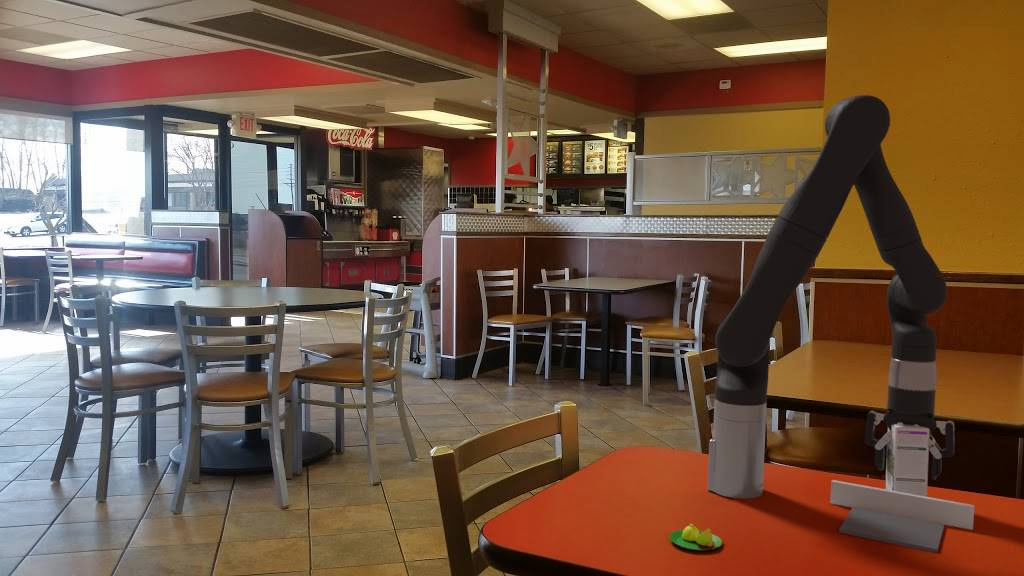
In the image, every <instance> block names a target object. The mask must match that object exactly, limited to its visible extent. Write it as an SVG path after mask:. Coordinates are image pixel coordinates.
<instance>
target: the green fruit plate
mask: <svg viewBox="0 0 1024 576" xmlns="http://www.w3.org/2000/svg"><path fill="white" fill-rule="evenodd" d="M669 540H670V542H672V543H674V544H676V545H677V546H679V547H681V548H683V549H685V550H691V551H698V552H704V551H709V550H711V548H710V549H709V548H708V549H702V548H701V547H700V546H703V547H704V546H706V547H712V546H713V543H714V545H715V546H714V547H712V550H714V549H716V548H720V547H721V546H722V544H723V542H722V539H721V538H720V537H719V536H717V535H715V534H713V533H712V531H711V529H710V528H707V529H705V530H699V529H698V528H697V527H696V526H695V525H694V524H693V523H690V524H689V525H687V526H686V527H685V528H684V529H680V530H679V529H678V530H675V531H673V532H671V533H670V534H669ZM694 542H696V543H697V544H698V545H700V546H698V545H697V544H696V543H694Z"/></svg>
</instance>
